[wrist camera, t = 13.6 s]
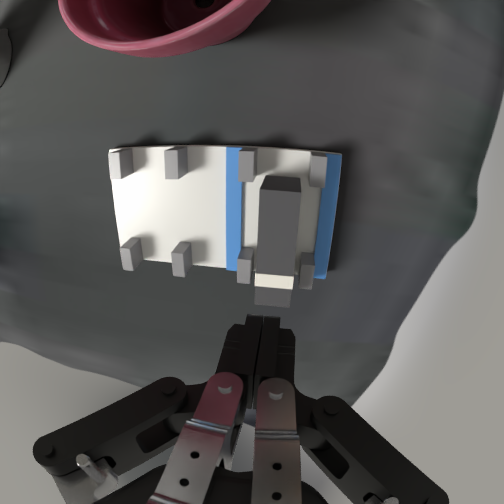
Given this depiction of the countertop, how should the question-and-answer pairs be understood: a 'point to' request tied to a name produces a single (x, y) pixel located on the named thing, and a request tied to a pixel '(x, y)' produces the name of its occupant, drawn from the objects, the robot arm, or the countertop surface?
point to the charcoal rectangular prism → (277, 239)
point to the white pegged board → (218, 205)
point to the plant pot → (158, 24)
